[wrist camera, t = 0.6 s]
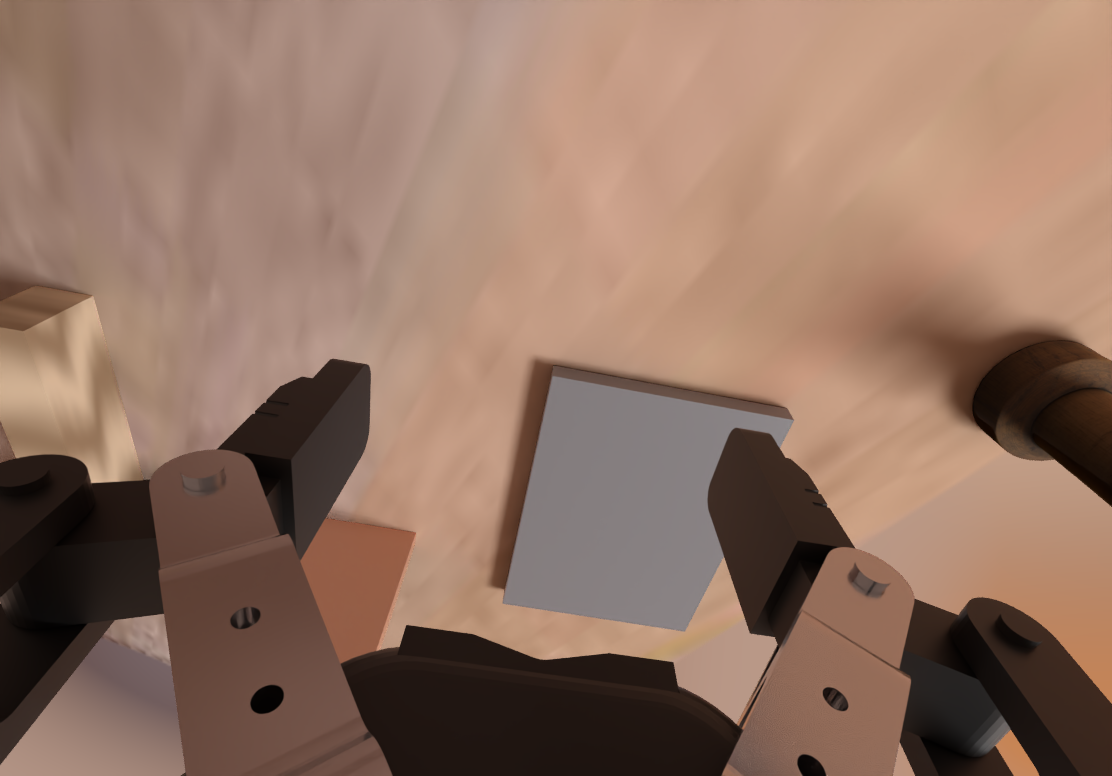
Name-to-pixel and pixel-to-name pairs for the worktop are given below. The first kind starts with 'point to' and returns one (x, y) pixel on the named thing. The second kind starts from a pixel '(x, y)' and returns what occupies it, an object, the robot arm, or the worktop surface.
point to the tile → (356, 581)
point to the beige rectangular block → (62, 384)
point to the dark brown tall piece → (1053, 409)
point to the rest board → (625, 498)
